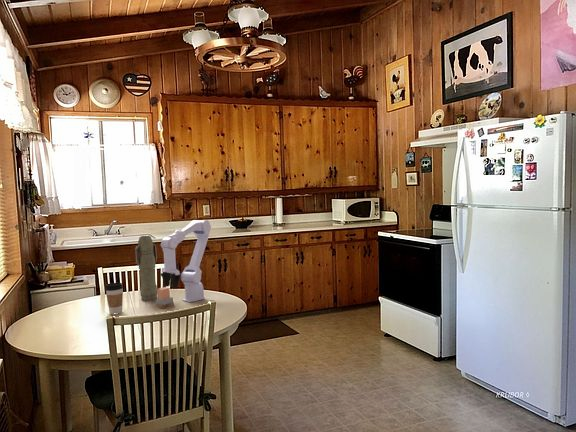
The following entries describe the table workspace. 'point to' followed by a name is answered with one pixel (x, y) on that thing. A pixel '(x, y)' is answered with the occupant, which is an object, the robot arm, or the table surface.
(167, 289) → the terracotta block
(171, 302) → the tower base
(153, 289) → the stone statue
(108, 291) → the coffee cup
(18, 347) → the table surface
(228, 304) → the table surface
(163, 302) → the tower middle
